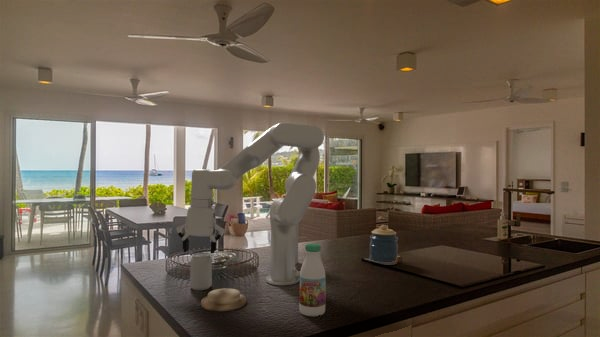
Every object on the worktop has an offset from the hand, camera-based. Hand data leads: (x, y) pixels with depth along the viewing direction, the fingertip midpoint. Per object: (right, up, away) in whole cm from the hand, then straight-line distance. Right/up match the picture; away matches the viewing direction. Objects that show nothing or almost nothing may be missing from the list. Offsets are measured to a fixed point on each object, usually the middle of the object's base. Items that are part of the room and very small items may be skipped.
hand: (199, 252), depth 131 cm
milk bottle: (+39, -13, -21) cm, 47 cm away
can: (0, -13, 0) cm, 13 cm away
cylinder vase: (+29, -14, +37) cm, 48 cm away
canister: (+74, -14, +39) cm, 85 cm away
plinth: (+12, -13, -14) cm, 23 cm away
